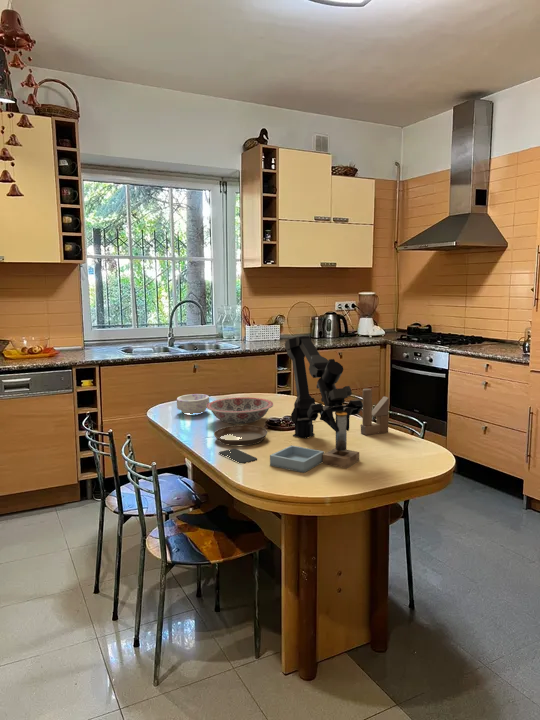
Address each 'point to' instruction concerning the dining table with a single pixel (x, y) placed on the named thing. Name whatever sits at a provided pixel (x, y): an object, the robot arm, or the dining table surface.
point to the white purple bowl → (192, 403)
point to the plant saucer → (242, 434)
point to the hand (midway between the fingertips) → (342, 431)
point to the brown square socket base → (341, 458)
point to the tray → (296, 458)
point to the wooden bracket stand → (374, 414)
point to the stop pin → (341, 430)
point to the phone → (238, 455)
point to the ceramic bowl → (240, 409)
